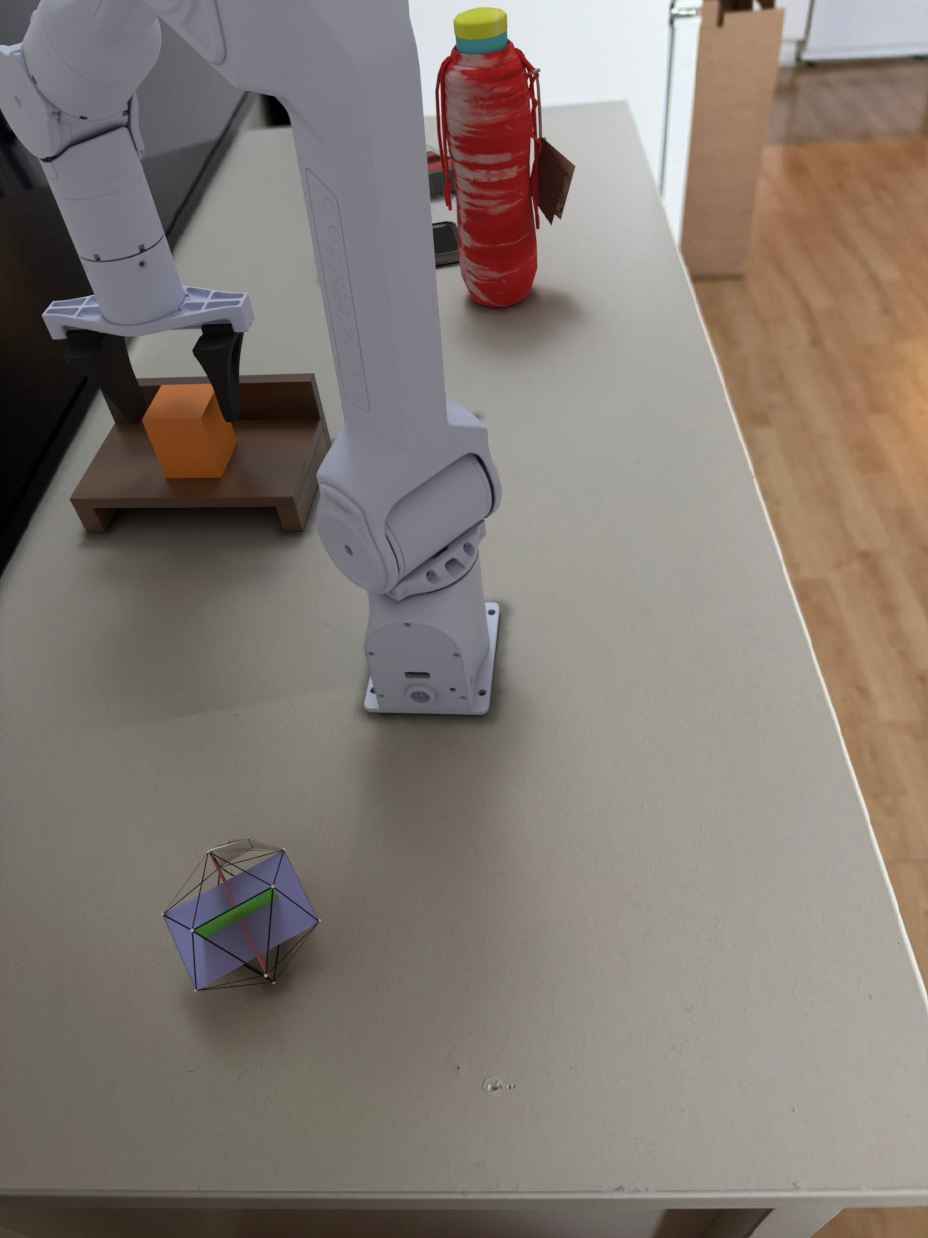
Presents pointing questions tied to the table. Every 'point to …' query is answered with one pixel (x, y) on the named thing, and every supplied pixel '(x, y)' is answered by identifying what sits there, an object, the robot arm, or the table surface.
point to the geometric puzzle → (240, 915)
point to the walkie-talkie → (437, 171)
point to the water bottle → (496, 158)
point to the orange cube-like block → (189, 432)
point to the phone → (445, 242)
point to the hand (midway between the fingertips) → (185, 415)
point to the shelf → (255, 475)
